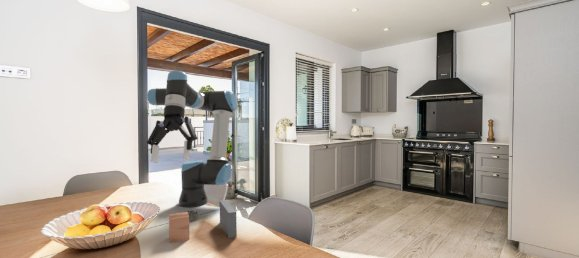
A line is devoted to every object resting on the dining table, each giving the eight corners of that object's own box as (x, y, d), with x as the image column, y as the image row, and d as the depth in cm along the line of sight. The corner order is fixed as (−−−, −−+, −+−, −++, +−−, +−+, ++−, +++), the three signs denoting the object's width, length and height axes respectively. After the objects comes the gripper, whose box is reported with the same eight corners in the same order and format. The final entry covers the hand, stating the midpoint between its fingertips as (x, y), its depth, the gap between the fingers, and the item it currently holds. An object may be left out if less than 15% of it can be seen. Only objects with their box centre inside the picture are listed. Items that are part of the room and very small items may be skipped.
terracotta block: (169, 236, 108) (168, 214, 108) (188, 233, 111) (187, 211, 111) (169, 243, 102) (169, 219, 102) (189, 239, 106) (189, 216, 105)
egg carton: (181, 226, 119) (181, 217, 119) (170, 223, 123) (170, 214, 123) (201, 218, 128) (200, 209, 128) (190, 215, 132) (189, 207, 132)
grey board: (219, 222, 122) (219, 200, 122) (226, 221, 124) (226, 199, 123) (229, 238, 106) (228, 212, 106) (236, 236, 107) (236, 211, 107)
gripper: (140, 108, 107) (133, 161, 101) (197, 99, 102) (194, 155, 95) (154, 115, 114) (148, 165, 107) (208, 107, 109) (205, 159, 102)
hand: (170, 160), depth 101 cm, fingers open, 13 cm apart
